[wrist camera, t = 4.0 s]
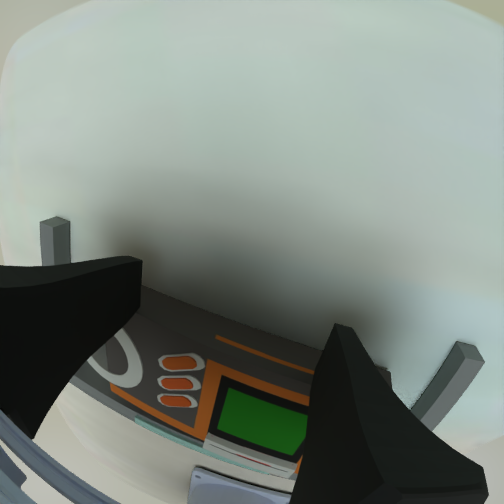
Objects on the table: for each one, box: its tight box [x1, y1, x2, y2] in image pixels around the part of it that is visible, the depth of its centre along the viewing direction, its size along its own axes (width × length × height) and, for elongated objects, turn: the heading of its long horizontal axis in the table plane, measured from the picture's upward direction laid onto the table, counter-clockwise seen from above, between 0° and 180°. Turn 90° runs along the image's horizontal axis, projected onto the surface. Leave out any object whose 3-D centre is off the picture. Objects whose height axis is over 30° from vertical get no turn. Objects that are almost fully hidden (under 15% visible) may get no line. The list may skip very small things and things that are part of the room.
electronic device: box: [87, 285, 392, 479], centre depth 12 cm, size 7×3×15 cm
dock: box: [40, 217, 485, 481], centre depth 12 cm, size 10×21×2 cm, turn 77°
